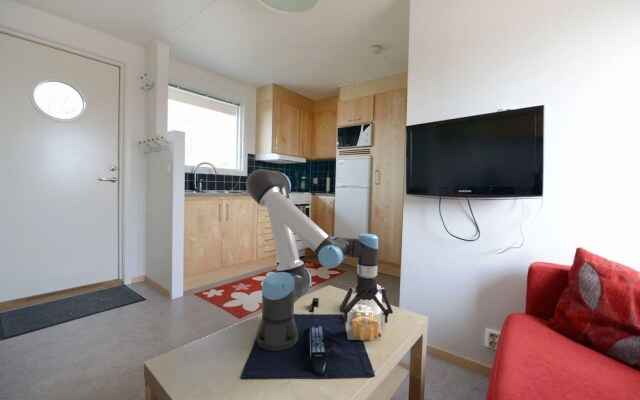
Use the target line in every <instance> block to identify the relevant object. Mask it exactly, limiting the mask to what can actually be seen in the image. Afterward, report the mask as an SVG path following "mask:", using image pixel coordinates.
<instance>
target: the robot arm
mask: <svg viewBox="0 0 640 400" xmlns="http://www.w3.org/2000/svg"><path fill="white" fill-rule="evenodd" d="M245 185H246V186H245V187H246V191H247V193H248V194H249V196H250V197H251V198H252V199H253V200H254V202H256V204H258V205H259V206H260V207H261V208H266V209H267V213H268V219H269V222H270V227H271V232H272V238H273V242H274V246H275V250H276V255H277V260H278V261H277V262H278V266H276V272H275V273H271V274H269V275H267V276H266V277H265V278H264V279H263V281H262V287H261V297H262V298H261V302H262V303H261V321H260V324H259V327H258V329H257V333H256V343H257V345H258V346H259V347H260V348H261V349H264V350H265V351H271V352H279V351H285V350H287V349H290V348H292V347H293V346H295V345H296V344H297V342H298V341H299V340H298V339H299V332H298V327H297V324H296V322H295V317H294V315H295V312H294V311H295V303H296V302H297V301H298V300H299V299H300V298H301V297H302V296H304V295H305V294H306V293H307V292H308V291H309V288H310V287H311V284H312V275H311V273H310V271H309V269H307V268H306V267H305V263H304V261H302V260H301V259H300V255H299V252H298V247H297V243H296V238H295V235H296V237H297V238H299V239H300V240H301V241H302V243H304V244H305V245H307V247H308V248H310V249H311V250H312V251H313V252H314V253H315V255H317V256H318V259H317V260H318V262H319V263H320V265H321V266H322V267H324V268H325V269H326V268H327V269H334V268H336V267H337V266H339V265H340V264H341V263H342V262H343V261H344V260H345V259H346V258H347V259H348V258H349V259H357V267H356V269H357V271H356V273H357V275H356V285H357V286H355V287H352V286H350V285H349V286H348V287H347V293H346V295H345V296H344V298H343V300H342V302H341V304H340V305H339V312H340V313H343V315H344V316H343V321H344V323H345V322H347V324H346V327H345V329H346V328H347V332H349V318H350V314H349V311H350V310H351V309H352V308H353V307H354V306H355V305H356V303H357V302H359V301H360V300H361V299H362V300H372V299H373V300H374V301H375V302H376V303H377V305H378V306H379V307H380V309H381V312H380V313H381V316H380V330H381V332H382V333H385V326H386V325H385V324H388V317H389V315H390V314H391V315H392V314H393V313H394V311H393V309H392V307H391V304H390V302H389V300H388V298H387V295H386V290H385V287H384V286H381V288H377V284H378V261H379V237H378V236H377V234H374V233H359V234H358V236H357V237H356V238H350V237H343V236H342V237H341V236H330V235H328V233H326V232H325V231H324V230H323V229H322V228H321V227H319V225H317V224H316V223H315V221H313V220H312V219H310V218H309V217H308V215H306V214H305V213H304V212H303V211H301V209H300V208H298V207H297V206H296V205H295V204H294V203H293V202H292V201H291V198H290V191H291V189H292V183H291V181H290V179H289V177H288V176H287V175H286V174H285V173H283V172H281V171H278V170H269V169H264V168H262V169H261V168H259V169H256V170H254V171H252V172H251V173H250V174H249V175H248V177H247V179H246V183H245ZM354 292H355V296H354V297H353V298H352V299H351V301H350V298H351V297H352V295H353V294H354ZM378 292H379V293H380V294H381V295H382V300H383V302H384V303H385V306H386V307H385V306H384V305H383V304H382V303H380V301H379V300H378V299H377V297H376V296H375V295H376V294H377V293H378ZM356 293H357V294H356ZM349 301H350V302H349ZM347 332H346V333H347Z"/></svg>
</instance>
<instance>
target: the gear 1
mask: <svg viewBox="0 0 640 400" xmlns="http://www.w3.org/2000/svg"><path fill="white" fill-rule="evenodd" d="M363 306H364V310H359V304H356V305H355V306H354V307H353V308H352V309H351V310H350V311H349V314H350V322H351V323H352V320H353V319H356V318H357V317H360V316H367V317H370V318H372V319H374V315H373V311H372V308H371V307H368V306H366V305H363Z"/></svg>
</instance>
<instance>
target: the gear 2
mask: <svg viewBox="0 0 640 400" xmlns="http://www.w3.org/2000/svg"><path fill="white" fill-rule="evenodd" d="M363 317H367V316H360V317H357V318H356V319H353V320H352V332H353V336H354V337H357V336H358V337H360V340H359V341H365V340H364V339H369V340H368V341H371V342H372V341H375V340H374V337H377V338H378V335H379V331H380V330H379V323H378V320H377V319H375V318H373V319H372V318H370V317H367V318H368V323H363Z"/></svg>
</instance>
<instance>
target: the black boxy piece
mask: <svg viewBox="0 0 640 400" xmlns="http://www.w3.org/2000/svg"><path fill="white" fill-rule="evenodd" d="M319 304H320V298H319V297H313V298H312V302H311V303H310V306H309V308H308V313H315V308H319Z"/></svg>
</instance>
